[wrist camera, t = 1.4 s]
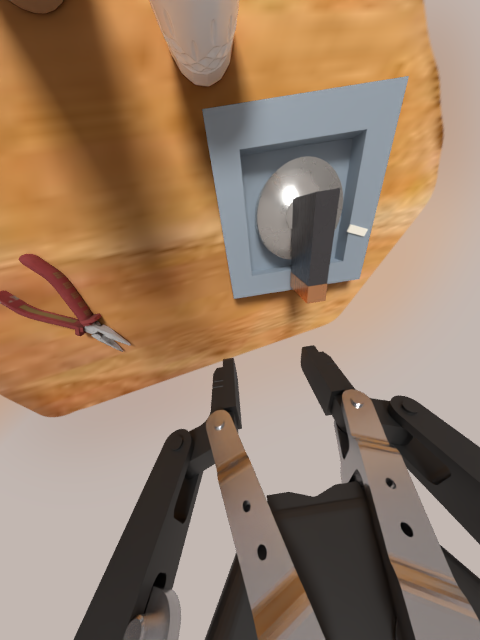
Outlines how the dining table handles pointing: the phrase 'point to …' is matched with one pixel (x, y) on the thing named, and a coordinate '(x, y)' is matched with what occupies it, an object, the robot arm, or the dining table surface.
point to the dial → (301, 221)
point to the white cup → (198, 35)
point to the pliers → (72, 299)
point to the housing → (293, 142)
